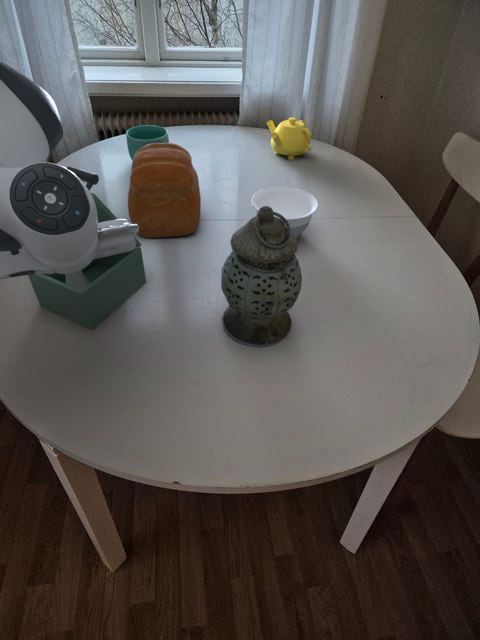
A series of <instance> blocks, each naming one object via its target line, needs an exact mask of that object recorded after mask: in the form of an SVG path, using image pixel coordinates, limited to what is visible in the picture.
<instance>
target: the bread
mask: <svg viewBox="0 0 480 640" xmlns="http://www.w3.org/2000/svg"><path fill="white" fill-rule="evenodd" d="M192 160H193V159H192V156H191V154H190V152H189V151H188V150H187V149H186V148H184V147H183V146H181V145H179V144H176V143H173V142H169V143H152V144H148V145H145V146H143V147H142V148H141V149H139V150H138V151H137V152H136V153H135V155H134V158H133V160H132V162H131V163H132V164H131V170H130V171H131V173H130V176H129V185H128V193H127V211H128V217H129V220H130V224H137V225H138V226H139V231H138V233H137V235H139V236H141V237H144V238H172V237H182V236H188V235H190V234H192V233H194V232H195V231H196V230H197V228H198V227H199V225H200V219H201V205H202V204H201V189H200V181H199V180H200V179H199V174H198V172H197V171H196V169H195V167H194V165H193V163H192V162H193V161H192Z"/></svg>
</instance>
